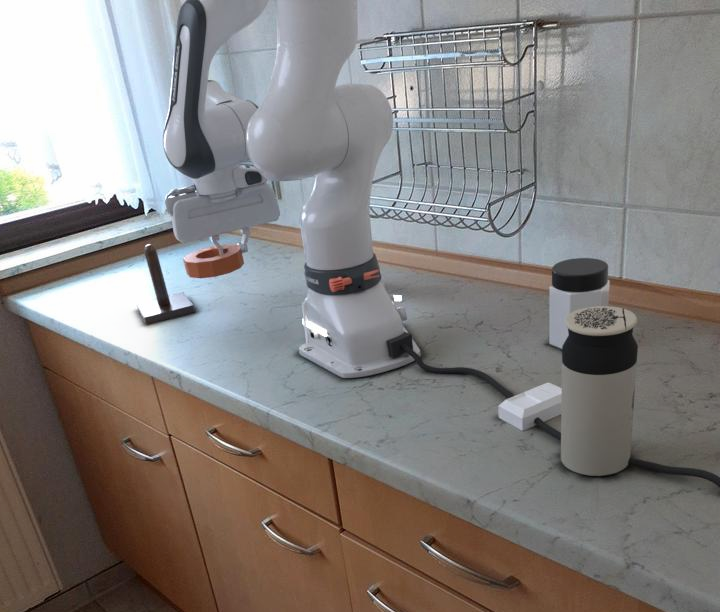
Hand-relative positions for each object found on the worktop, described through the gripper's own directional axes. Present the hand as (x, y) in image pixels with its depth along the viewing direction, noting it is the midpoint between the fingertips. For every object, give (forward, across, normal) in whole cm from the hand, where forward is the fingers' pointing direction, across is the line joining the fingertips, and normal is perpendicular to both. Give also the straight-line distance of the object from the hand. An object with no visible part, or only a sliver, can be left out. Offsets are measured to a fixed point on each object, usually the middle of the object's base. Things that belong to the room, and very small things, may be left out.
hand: (234, 254), depth 152 cm
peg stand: (+10, -14, +10) cm, 20 cm away
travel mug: (+13, +20, -84) cm, 88 cm away
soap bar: (+12, +22, -70) cm, 75 cm away
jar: (+12, +40, -54) cm, 68 cm away
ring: (+2, -4, 0) cm, 5 cm away
